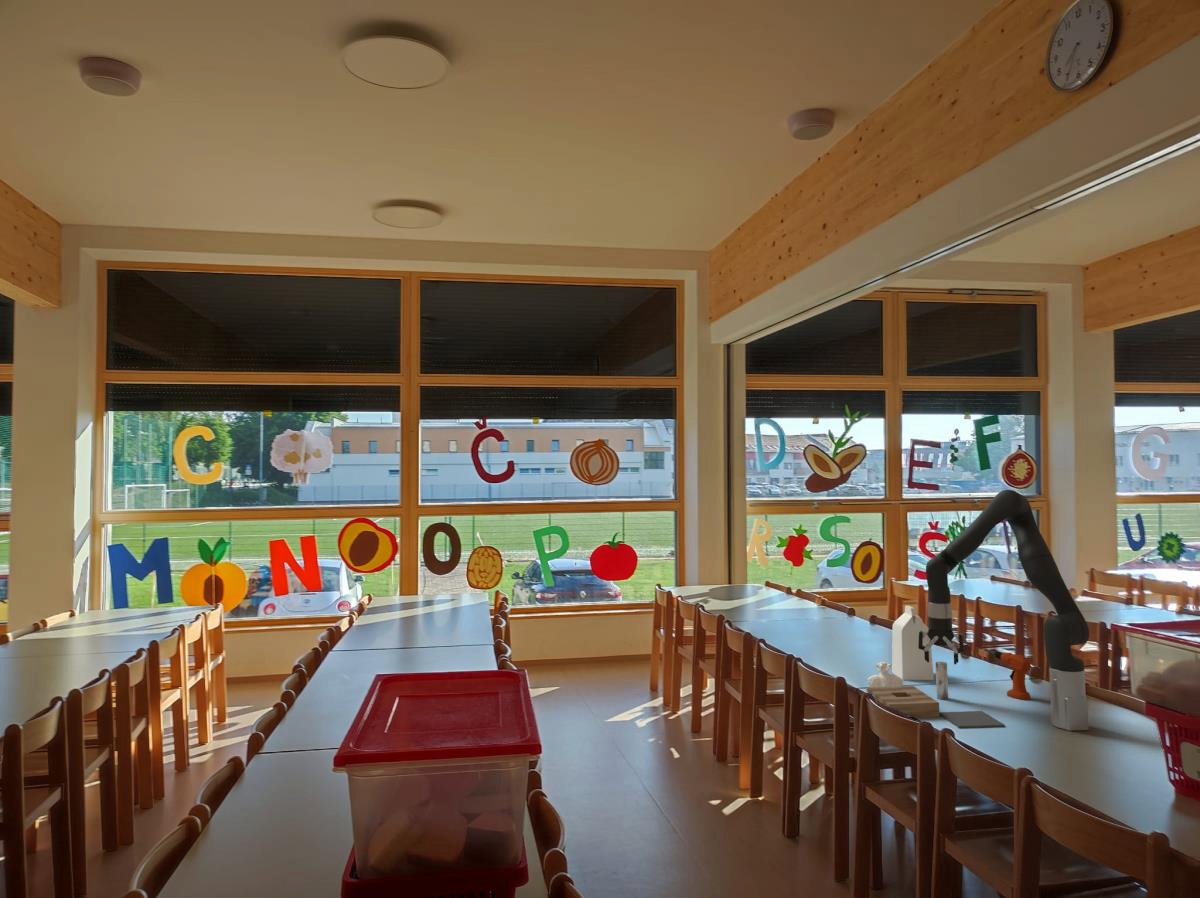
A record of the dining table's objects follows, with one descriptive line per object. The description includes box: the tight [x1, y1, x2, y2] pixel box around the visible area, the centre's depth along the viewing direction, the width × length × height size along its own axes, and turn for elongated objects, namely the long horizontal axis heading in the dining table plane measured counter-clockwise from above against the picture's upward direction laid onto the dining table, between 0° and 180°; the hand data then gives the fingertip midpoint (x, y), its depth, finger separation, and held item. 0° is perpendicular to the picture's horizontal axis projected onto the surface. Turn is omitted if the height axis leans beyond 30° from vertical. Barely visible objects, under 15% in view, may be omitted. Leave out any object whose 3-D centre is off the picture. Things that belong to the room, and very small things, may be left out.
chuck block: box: [866, 685, 941, 719], centre depth 259 cm, size 20×16×4 cm
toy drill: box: [983, 648, 1032, 701], centre depth 273 cm, size 5×19×15 cm, turn 22°
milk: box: [891, 605, 935, 681], centre depth 300 cm, size 12×12×26 cm
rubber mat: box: [939, 710, 1006, 729], centre depth 245 cm, size 14×14×1 cm
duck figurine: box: [867, 661, 904, 687], centre depth 280 cm, size 12×8×11 cm
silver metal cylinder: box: [935, 661, 949, 701], centre depth 269 cm, size 4×4×12 cm
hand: (941, 662), depth 270 cm, fingers open, 8 cm apart
